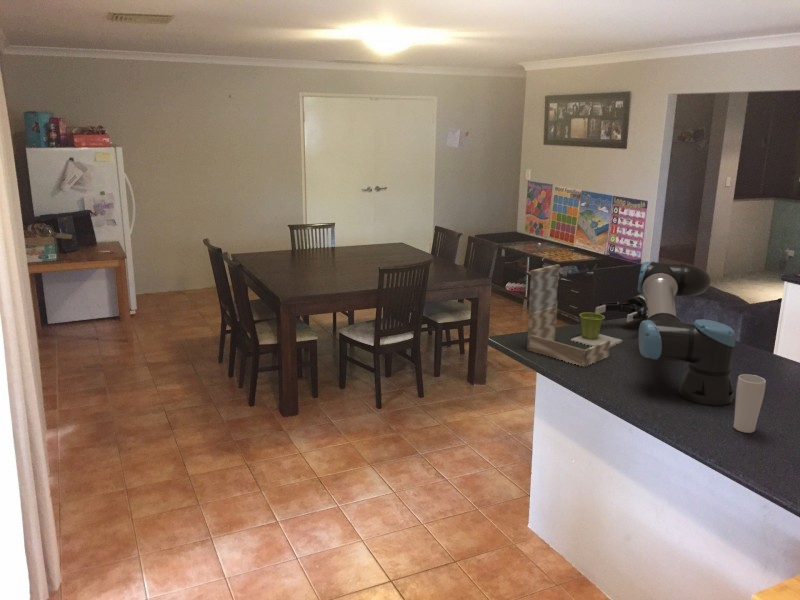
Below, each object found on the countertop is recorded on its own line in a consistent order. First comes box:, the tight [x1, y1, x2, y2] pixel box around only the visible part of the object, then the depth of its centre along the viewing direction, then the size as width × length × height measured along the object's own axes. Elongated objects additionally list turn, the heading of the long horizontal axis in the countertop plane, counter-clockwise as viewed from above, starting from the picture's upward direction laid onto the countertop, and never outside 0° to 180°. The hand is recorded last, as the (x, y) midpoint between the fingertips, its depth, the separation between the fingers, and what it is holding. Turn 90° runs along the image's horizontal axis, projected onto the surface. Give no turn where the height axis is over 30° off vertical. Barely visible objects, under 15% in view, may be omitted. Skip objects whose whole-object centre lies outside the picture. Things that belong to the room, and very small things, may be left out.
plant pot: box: [579, 311, 606, 339], centre depth 254 cm, size 9×9×9 cm
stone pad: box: [570, 333, 624, 348], centre depth 253 cm, size 14×14×1 cm
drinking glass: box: [733, 373, 767, 434], centre depth 179 cm, size 7×7×15 cm
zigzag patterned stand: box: [526, 264, 611, 368], centre depth 236 cm, size 16×24×30 cm
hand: (611, 314), depth 257 cm, fingers open, 13 cm apart
